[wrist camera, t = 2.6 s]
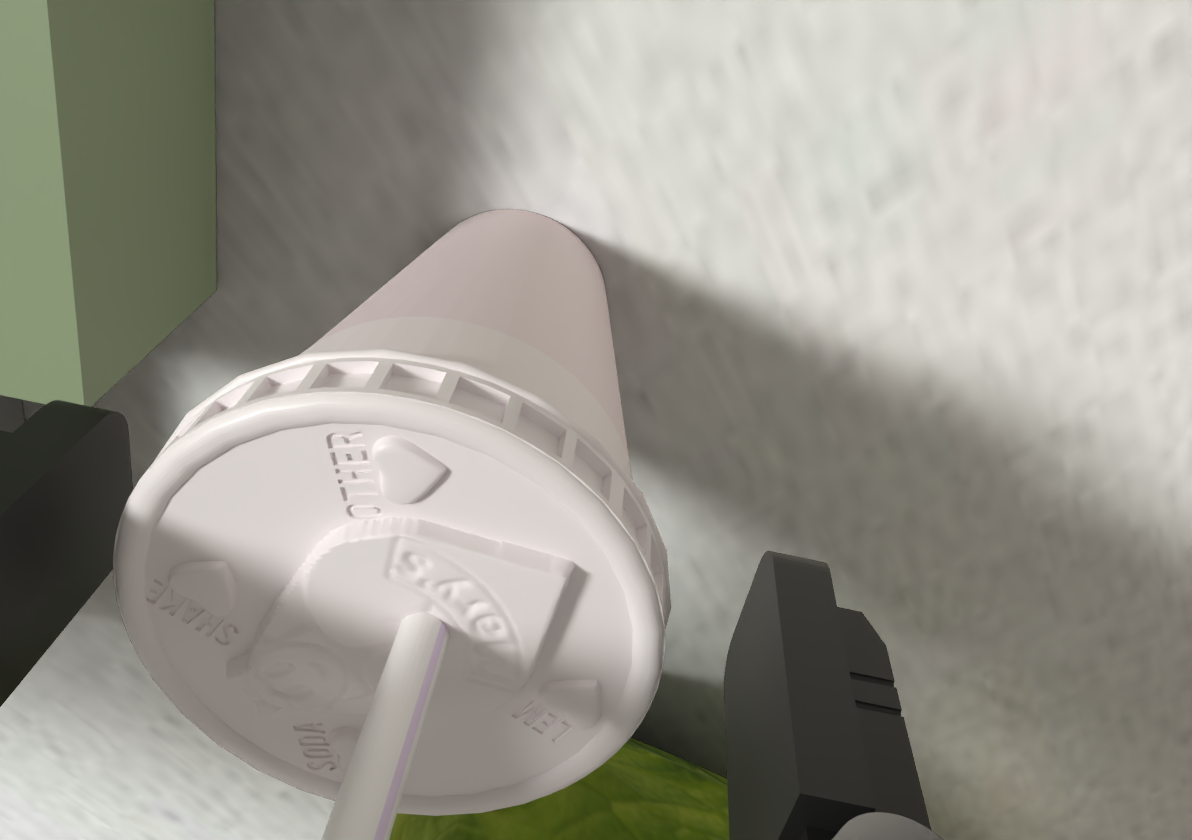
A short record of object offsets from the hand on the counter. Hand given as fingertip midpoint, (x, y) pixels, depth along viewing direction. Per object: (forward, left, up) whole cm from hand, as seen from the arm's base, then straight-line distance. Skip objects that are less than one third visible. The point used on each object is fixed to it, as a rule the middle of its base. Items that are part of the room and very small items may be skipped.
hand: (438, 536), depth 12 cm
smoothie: (0, 0, -8) cm, 8 cm away
